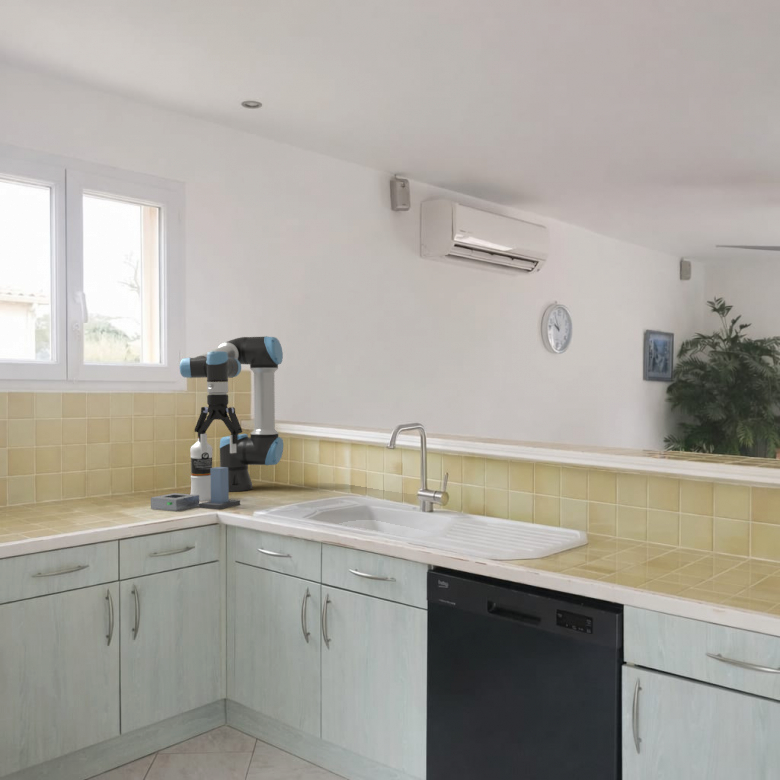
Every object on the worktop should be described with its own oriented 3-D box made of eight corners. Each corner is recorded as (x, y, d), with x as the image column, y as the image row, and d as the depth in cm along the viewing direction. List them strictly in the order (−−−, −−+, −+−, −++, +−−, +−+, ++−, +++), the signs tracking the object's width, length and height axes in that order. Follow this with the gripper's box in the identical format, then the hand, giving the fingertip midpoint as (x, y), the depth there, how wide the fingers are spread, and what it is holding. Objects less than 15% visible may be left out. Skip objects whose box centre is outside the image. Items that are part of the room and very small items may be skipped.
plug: (219, 504, 296) (218, 466, 296) (228, 505, 294) (228, 467, 294) (210, 506, 292) (210, 468, 292) (220, 507, 290) (220, 468, 290)
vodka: (211, 499, 316) (210, 422, 315) (216, 502, 308) (216, 424, 307) (187, 501, 312) (186, 423, 311) (192, 504, 303) (191, 425, 303)
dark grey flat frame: (220, 505, 300) (220, 498, 300) (240, 507, 296) (240, 500, 296) (199, 510, 290) (199, 503, 290) (218, 512, 286) (218, 505, 285)
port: (174, 506, 299) (174, 493, 299) (199, 508, 294) (199, 495, 293) (149, 511, 288) (149, 497, 288) (174, 514, 282) (174, 500, 282)
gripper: (184, 394, 295) (185, 451, 295) (238, 394, 283) (239, 454, 283) (198, 393, 301) (198, 450, 302) (251, 393, 289) (252, 452, 290)
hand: (218, 452), depth 292 cm, fingers open, 13 cm apart
